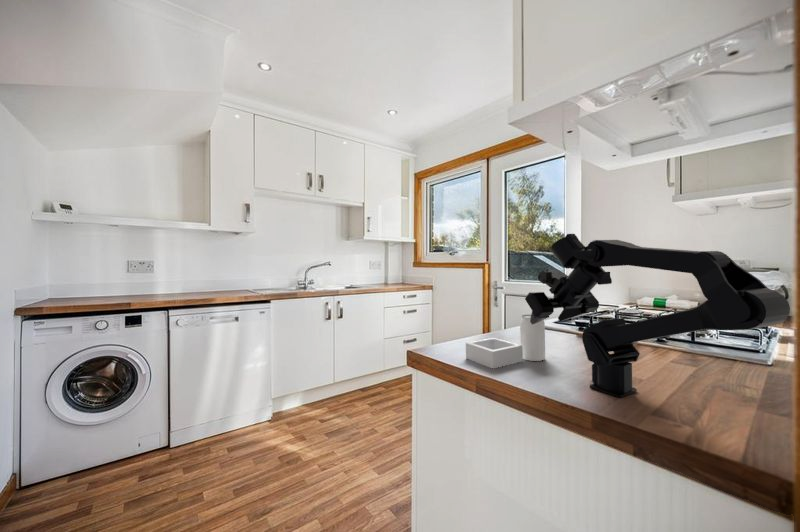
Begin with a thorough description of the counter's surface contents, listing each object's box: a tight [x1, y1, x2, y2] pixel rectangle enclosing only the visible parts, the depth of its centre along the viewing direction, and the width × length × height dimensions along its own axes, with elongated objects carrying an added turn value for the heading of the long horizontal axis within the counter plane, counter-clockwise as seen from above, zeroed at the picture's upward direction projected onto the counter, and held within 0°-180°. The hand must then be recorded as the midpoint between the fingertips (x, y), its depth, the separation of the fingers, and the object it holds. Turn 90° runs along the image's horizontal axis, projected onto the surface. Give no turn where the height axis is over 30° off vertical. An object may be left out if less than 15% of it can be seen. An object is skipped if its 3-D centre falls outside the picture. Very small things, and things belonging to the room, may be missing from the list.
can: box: [519, 314, 546, 362], centre depth 94 cm, size 6×6×12 cm
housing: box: [465, 337, 524, 370], centre depth 94 cm, size 11×11×4 cm
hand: (545, 321), depth 89 cm, fingers open, 9 cm apart
